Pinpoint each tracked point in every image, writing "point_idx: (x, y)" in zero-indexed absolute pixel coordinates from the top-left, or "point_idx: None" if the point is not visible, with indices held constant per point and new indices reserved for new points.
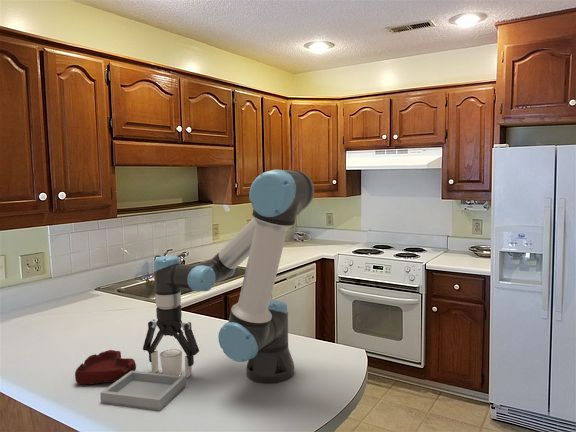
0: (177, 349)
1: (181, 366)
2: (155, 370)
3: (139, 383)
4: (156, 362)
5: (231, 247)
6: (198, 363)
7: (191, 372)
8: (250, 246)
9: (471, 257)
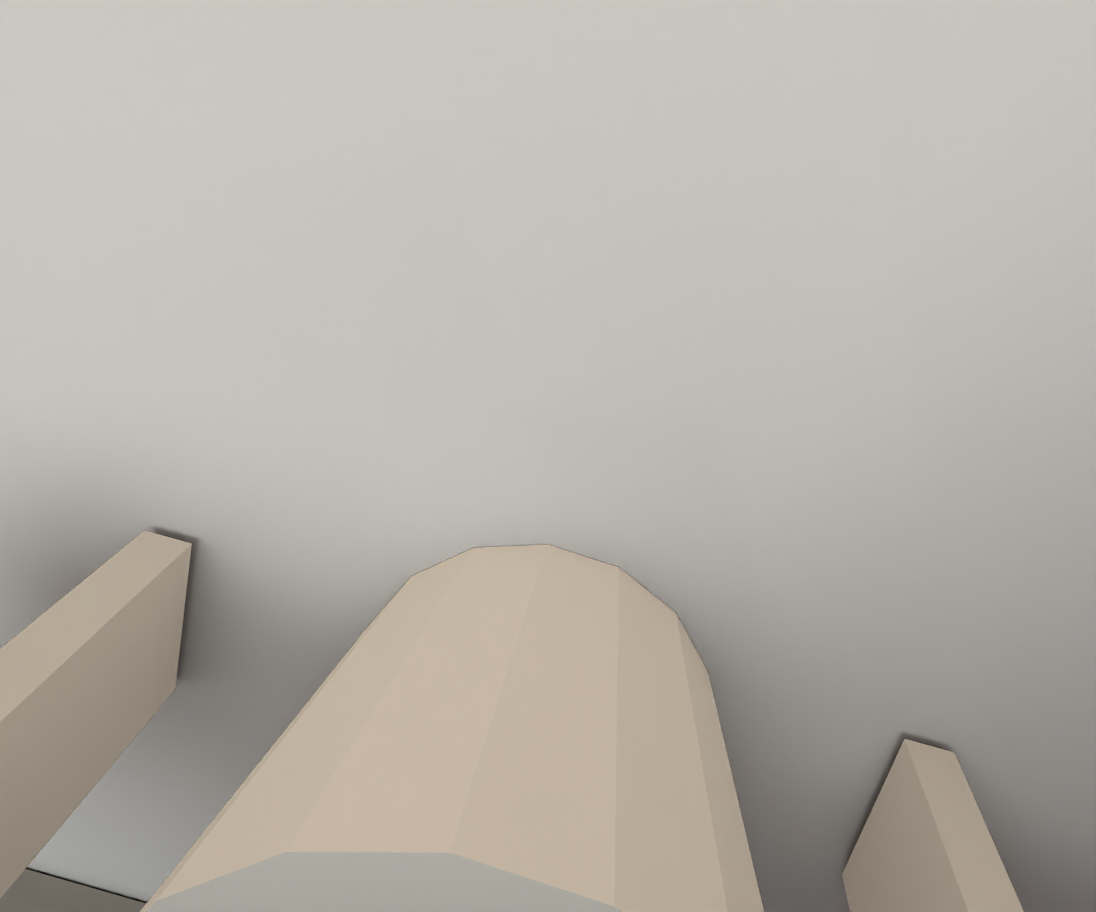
0: (560, 896)
1: (730, 777)
2: (158, 664)
3: None
4: (74, 715)
5: None
6: (1066, 166)
7: (958, 786)
8: None
9: None
